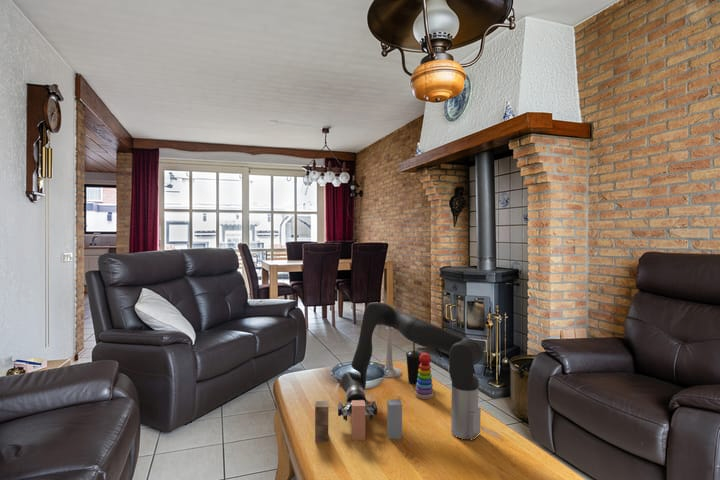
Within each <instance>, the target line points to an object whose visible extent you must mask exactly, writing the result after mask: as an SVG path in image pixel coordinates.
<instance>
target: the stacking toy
mask: <svg viewBox="0 0 720 480" xmlns="http://www.w3.org/2000/svg"><path fill="white" fill-rule="evenodd" d="M421 353H422V352H421ZM419 360H420V362H421V364H420V365H419V370H418V372H419V373H418V378H417V384H415V385H416V386H415V392H414V396H415V397H416V398H417V399H422V400H430V399H432V398H434V392H433V391H434V388H433V379H432V369H431V368H432V365H431V364H430V363H431V361H432V356H431V355H430V354H429V353H427V352H423V353H422V354H421V355H420V357H419Z"/></svg>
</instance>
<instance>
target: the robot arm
mask: <svg viewBox="0 0 720 480" xmlns="http://www.w3.org/2000/svg"><path fill="white" fill-rule="evenodd" d="M363 311H364V312H363V315H362V321H361V326H360V332H359V337H358V342H357V343H358V344H357V346H356V350H355V352H354V355H353V359H352V361H351V367H352V368H353V369H354V370H355V371H356V372H358V373H359V374H357V373H354V372H350V371H348V372H345V373H344V374H343V375H342V377H341V383H340V384H341V388H342V389H343V391H344V392H345V393H346V394H345V401H346V403H345V404H343V403H342V402H338V404H337V416H338V417H341V416H342V419H343V420H344V421H345V422H348V416H352V400H364V401H365V416H368V419H369V421H372V420H374V416H378V406H377V403H376V401H374V400H373V401H371V403H368V402H367V397H366V393H365V390H366V386H367V372H368V368H369V365H370V362H371V359H372V356H373V333H374V332H375V329H376V326H386V327H387V326H389V327H392V328H393V329H395V330H397V332H399V333H401V335H402V336H403V337H404V338H406V339H407V340H408V341H410V342H412V343H413V342H414V343H415V345H416V344H417V345H418V346H421V347H425V348H428V349H429V348H430V349H437V350H442V351H445V352H448V353H449V354H448V366H449V378H450V380H451V408H450V409H451V414H450V416H451V417H450V418H451V424H450V425H451V426H450V427H451V428H450V430H451V432H452V433H451V434H452V435H453V436H454V435H455V436H457V437H459V438H463V439H472V440H473V439H474V438H475V437H476V436H477V435H478V434H479V433H480V434H481V414H482V413H481V408H480V407H479V385H480V382H479V379H478V377H476V376H475V375H474V366H475V365H477V364H478V363H480V362H481V361H482V360H483V358H484V355H485V354H484V350H483V347H482V346H481V344H479V342H478V341H476V340H474V339H472V338H469V337H466V336H462V335H459V334H456V333H453V332H450V331H448V330H445V329H444V328H441V327H439V326H437V325H434V324H432V323H430V322H428V321H425V320H423V319H420V318H417V317H415V316H412V315H410V314H406V313H403V312H401V311H400V310H398V309H395V308H394V307H393V306H391V305H389V304H387V303H385V302H375V301H374V302H369V303H368V304H367V305H366V306H365V308H364V310H363ZM352 368H351V369H352ZM455 436H454V437H455ZM457 437H456V438H457ZM459 438H458V439H459ZM463 439H462V440H463ZM473 441H474V440H473Z"/></svg>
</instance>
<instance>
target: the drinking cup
mask: <svg viewBox="0 0 720 480" xmlns="http://www.w3.org/2000/svg"><path fill="white" fill-rule="evenodd" d="M412 344H413V345H412V346H413V347H412V348H413V350H410V351H407V352H406V353H405V355H406V367H407V368H406V369H407V376H408V377H407V379H408V380H407V381H408V384H411V385H416V384H417V378H418V373H419V372H418V370H419V365H420V364H421V362H420V360H419V357H420V355H421V354H422V352H419V351H417V350H416V343H414V342H412Z"/></svg>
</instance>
